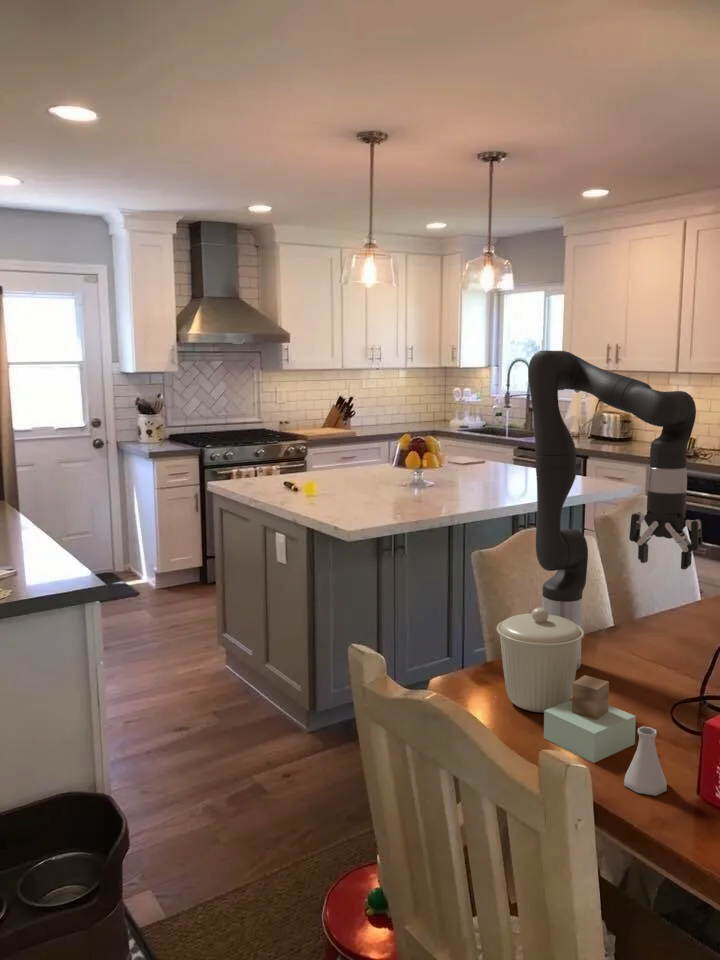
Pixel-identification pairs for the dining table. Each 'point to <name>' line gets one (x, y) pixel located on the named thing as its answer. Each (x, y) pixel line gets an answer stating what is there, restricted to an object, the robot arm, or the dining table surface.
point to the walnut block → (590, 697)
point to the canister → (539, 659)
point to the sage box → (589, 731)
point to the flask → (646, 766)
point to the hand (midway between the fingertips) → (663, 565)
